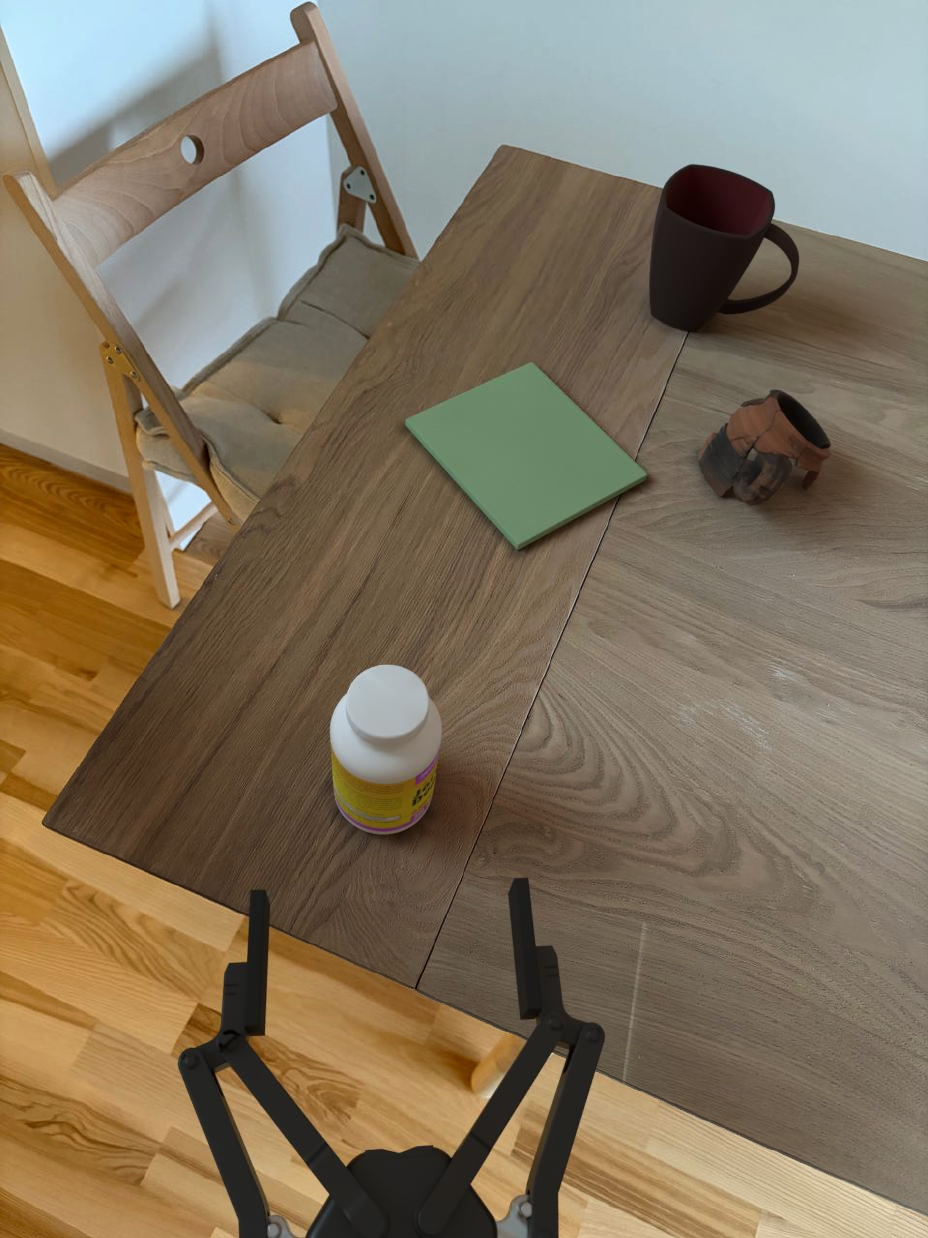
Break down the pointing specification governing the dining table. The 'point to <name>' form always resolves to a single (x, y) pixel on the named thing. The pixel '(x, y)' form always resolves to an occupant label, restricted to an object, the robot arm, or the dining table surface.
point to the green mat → (525, 453)
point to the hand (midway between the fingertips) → (391, 890)
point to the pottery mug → (764, 448)
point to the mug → (710, 245)
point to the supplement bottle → (385, 750)
